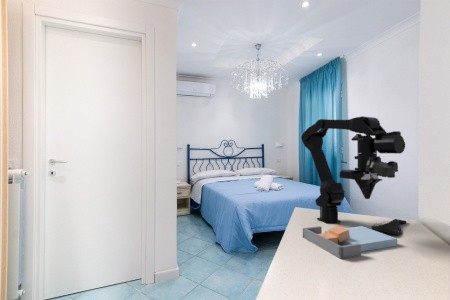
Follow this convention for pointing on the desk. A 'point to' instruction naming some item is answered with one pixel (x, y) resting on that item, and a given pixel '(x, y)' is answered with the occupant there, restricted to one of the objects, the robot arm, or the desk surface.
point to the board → (368, 238)
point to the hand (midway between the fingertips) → (367, 198)
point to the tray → (331, 244)
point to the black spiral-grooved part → (390, 227)
